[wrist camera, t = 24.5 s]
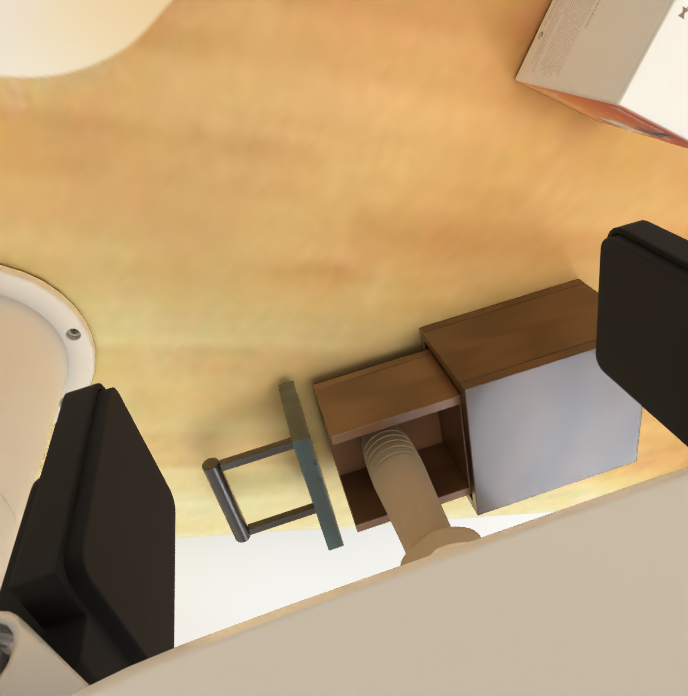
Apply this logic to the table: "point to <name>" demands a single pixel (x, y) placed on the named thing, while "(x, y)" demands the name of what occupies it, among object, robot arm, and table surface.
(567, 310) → the cabinet
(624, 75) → the small box
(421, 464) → the handle
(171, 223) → the table surface
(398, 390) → the drawer
